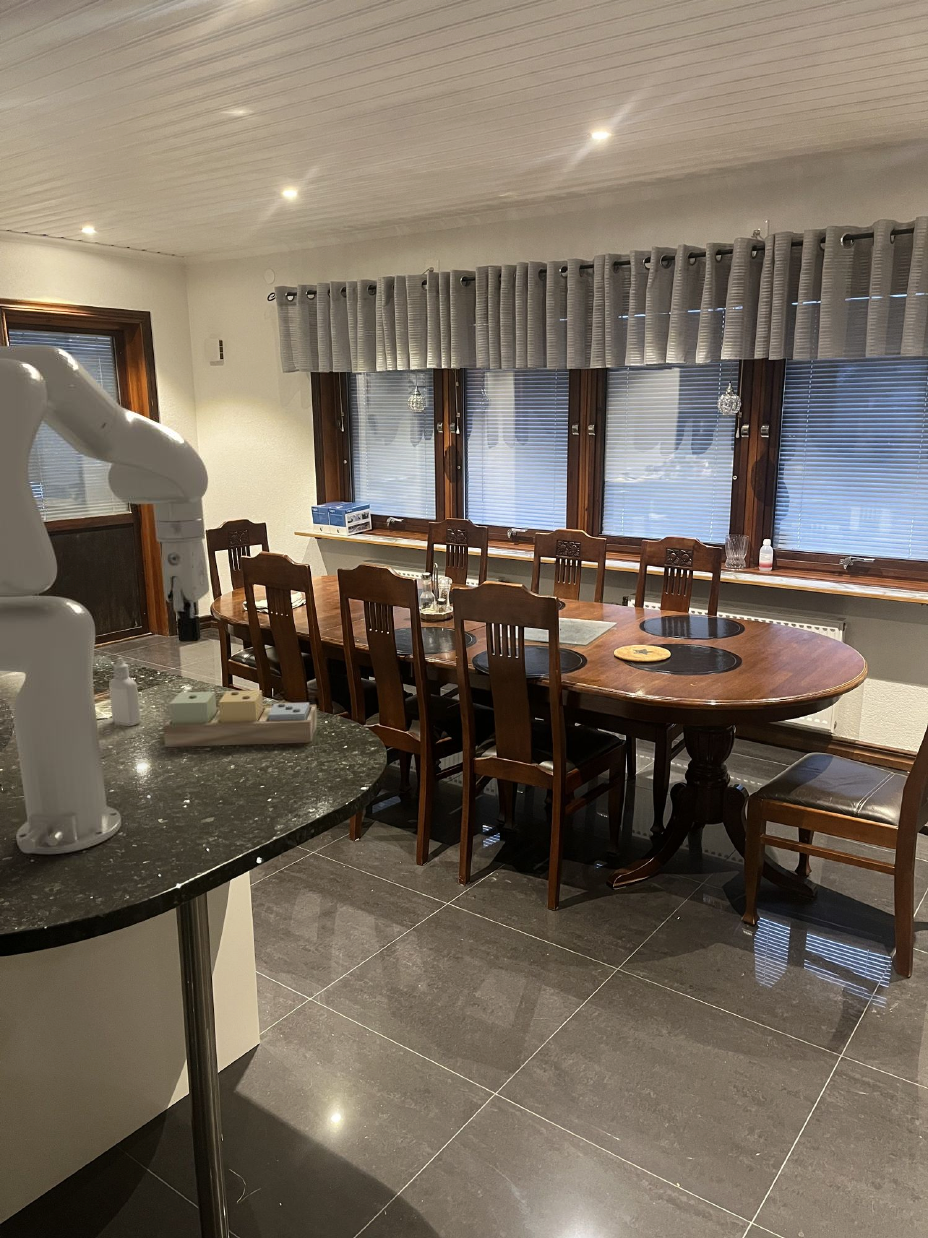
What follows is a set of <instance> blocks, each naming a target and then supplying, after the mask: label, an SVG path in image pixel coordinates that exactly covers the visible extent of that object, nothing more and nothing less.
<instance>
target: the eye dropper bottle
mask: <svg viewBox="0 0 928 1238" xmlns="http://www.w3.org/2000/svg"><path fill="white" fill-rule="evenodd" d="M113 675H114V678H112V679H110V681H109V683H108V689H109V690H108V691H109V699H110V708H111V715H112V716H111V719H112V721H113V723H114V724H116V725H119V726H121V727H133V726H135V725H139V724H141V722H142V721H141V711H140V709H141V708H140V700H139V692H138V684H137V683H136V681H135V680H134V679H133V678H132V677H130V671H129V664H128V663H125V662H124V660H123V657H118V658H117V663H116V664H115V665H113Z"/></svg>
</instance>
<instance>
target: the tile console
mask: <svg viewBox="0 0 928 1238" xmlns="http://www.w3.org/2000/svg"><path fill="white" fill-rule="evenodd" d="M272 707H273V705H263V712H262V714H261V715H260V717H259V719H258V721H249V722H220V711H219V707H216V709H217V712H216V714H215V715H214V717H213V718H212V719H211V721H210V722H209V723H183V724H172V719H171V717H170V718H169V719H168V720H167V721H166V723H165V724H164V725H162V727H163V737H164V747H165V748H168V747H169V748H170V747H171V748H172V747H174V748H175V747H177V748H178V747H198V746H199V747H205V746H209V747H210V746H235V745H236V746H237V745H240V746H241V745H242V746H243V745H271V744H301V743H303V744H304V743H311V742H312V740H313V738H314V735H315V732H316V729H317V726H318V712H317V711H318V710H317V704H309V708H310V713H309V716H308V718H307V720H282V721H269V718H268V715H269V713H270V711H271V709H272Z"/></svg>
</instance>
